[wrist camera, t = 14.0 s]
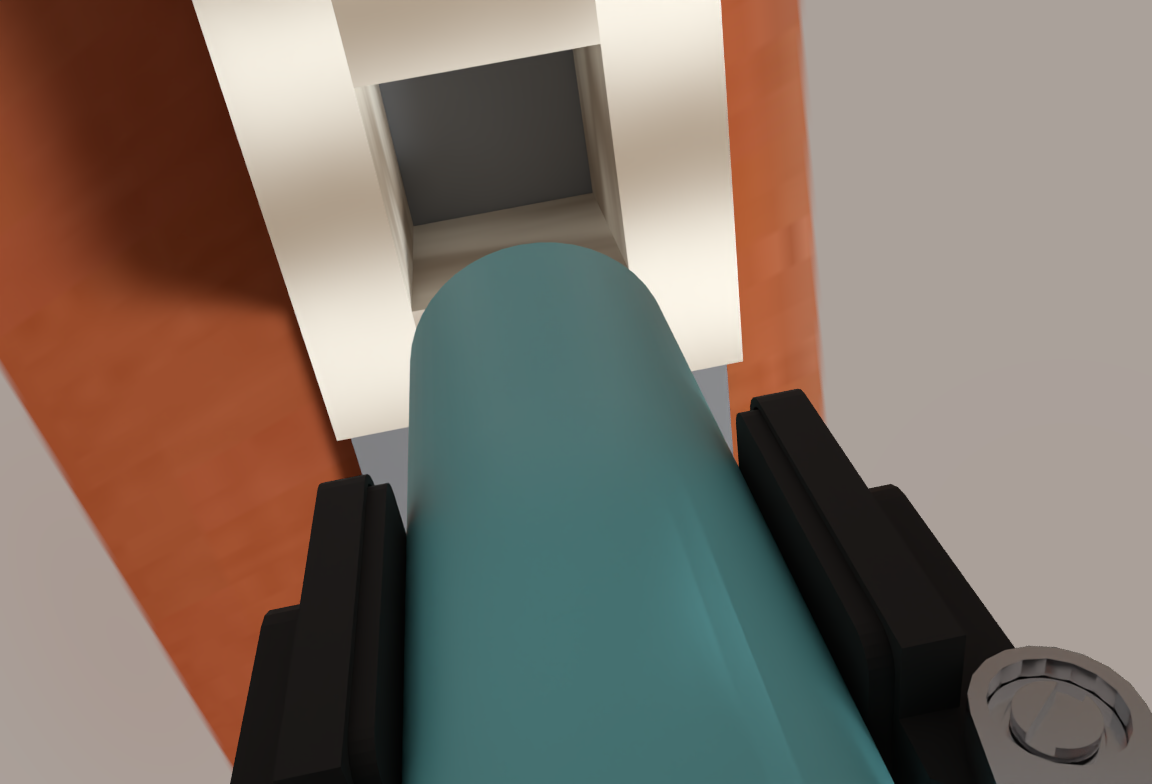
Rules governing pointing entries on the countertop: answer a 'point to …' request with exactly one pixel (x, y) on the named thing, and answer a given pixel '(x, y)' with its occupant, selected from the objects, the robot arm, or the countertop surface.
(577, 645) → the dowel
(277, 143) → the block
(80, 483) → the countertop surface
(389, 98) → the track
